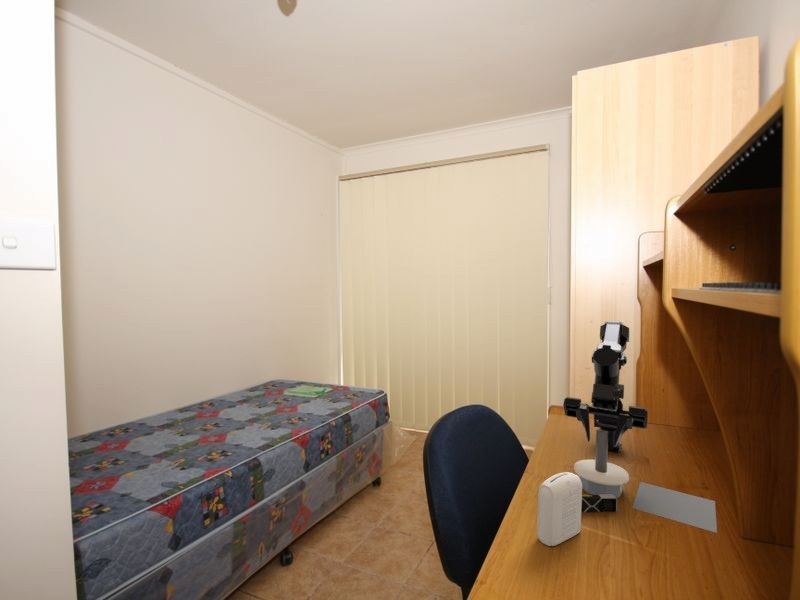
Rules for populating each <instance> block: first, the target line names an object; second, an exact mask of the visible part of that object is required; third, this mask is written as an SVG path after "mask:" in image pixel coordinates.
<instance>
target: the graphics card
mask: <svg viewBox="0 0 800 600" xmlns="http://www.w3.org/2000/svg"><path fill="white" fill-rule="evenodd" d="M605 511H606V513H607V512H618V497H615V496H614V495H613V494H599V495H592V494H582V507H581V513H601V512H605Z"/></svg>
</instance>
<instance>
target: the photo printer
mask: <svg viewBox="0 0 800 600" xmlns="http://www.w3.org/2000/svg"><path fill="white" fill-rule="evenodd" d="M582 495H583V488H582V482H581V480H580V478H579V475H578V474H574V473H573V472H570V471H569V472H568V471H565V472H559V473H556V474H554V475H552V476H550V477H549V478H546V480H544V481H542V483H541V484H540V486H539V488H538V495H537V496H538V497H537V524H536V525H537V526H536V527H537V529H536V530H537V531H536V532H537V533H536V534H537V535H536V536H537V538H538V539H539V541H540V542H541V543H542V544H543V545H546V546H548V547H551V546H552V547H553V546H557V545H559V544H562V543H564V542H566V541H567V540H569V539H571V538H573V537H575V536H576V535H577V534H579V533H580V532H581V529H582V512H581V507H582Z"/></svg>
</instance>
